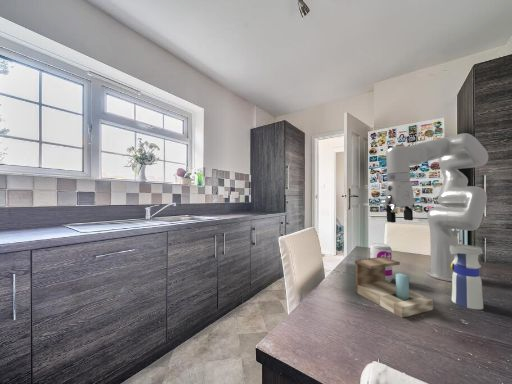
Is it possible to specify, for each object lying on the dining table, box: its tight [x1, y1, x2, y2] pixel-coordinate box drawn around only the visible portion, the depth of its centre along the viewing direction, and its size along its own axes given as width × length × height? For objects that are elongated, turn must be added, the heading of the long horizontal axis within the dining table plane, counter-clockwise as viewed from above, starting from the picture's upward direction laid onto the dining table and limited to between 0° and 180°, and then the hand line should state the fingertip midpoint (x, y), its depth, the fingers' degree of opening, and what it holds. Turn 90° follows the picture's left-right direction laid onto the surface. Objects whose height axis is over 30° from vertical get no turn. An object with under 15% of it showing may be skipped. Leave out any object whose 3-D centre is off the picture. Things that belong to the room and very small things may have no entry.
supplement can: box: [369, 242, 393, 283], centre depth 93 cm, size 8×8×15 cm
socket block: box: [354, 257, 434, 319], centre depth 75 cm, size 14×18×12 cm
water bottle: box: [450, 228, 484, 310], centre depth 72 cm, size 8×8×25 cm
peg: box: [395, 272, 410, 301], centre depth 71 cm, size 4×4×10 cm
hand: (400, 221), depth 84 cm, fingers open, 9 cm apart
